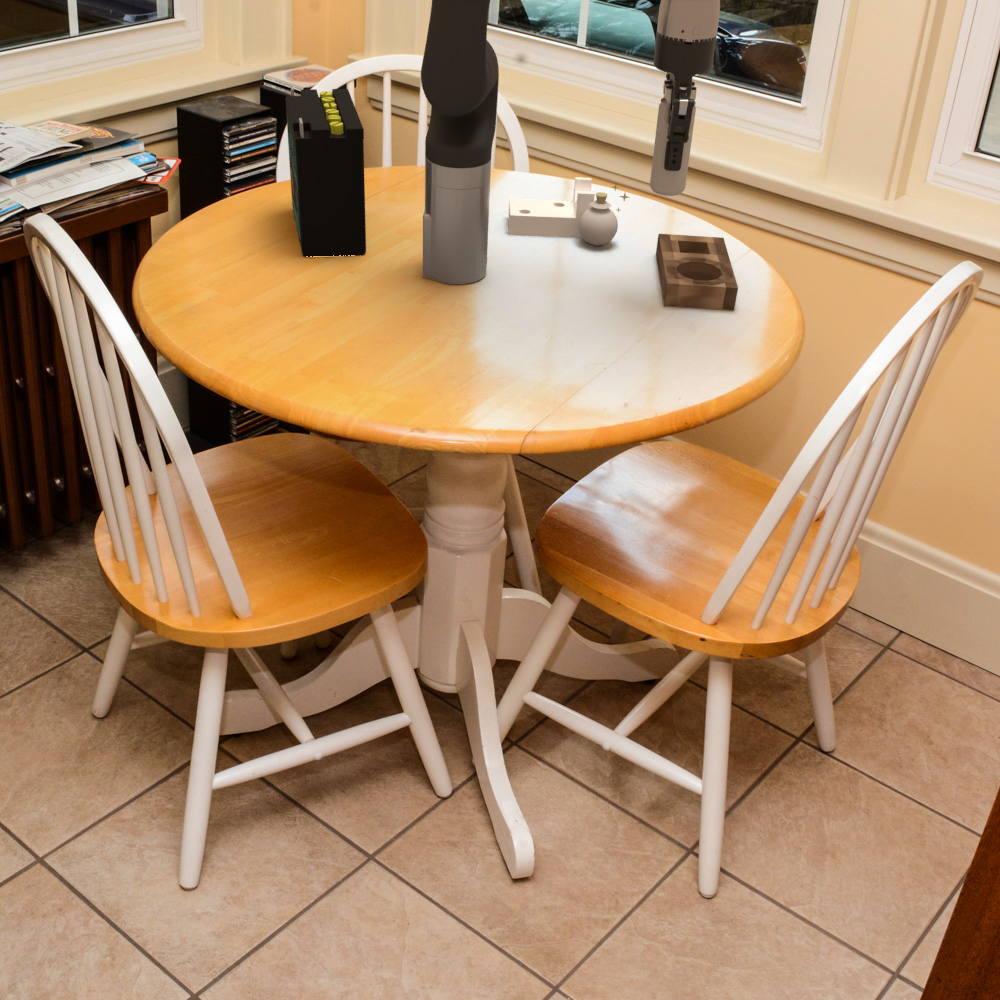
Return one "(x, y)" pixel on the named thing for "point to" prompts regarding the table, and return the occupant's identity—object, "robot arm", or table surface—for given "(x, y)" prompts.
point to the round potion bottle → (599, 221)
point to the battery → (327, 172)
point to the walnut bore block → (695, 272)
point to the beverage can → (661, 178)
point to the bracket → (551, 213)
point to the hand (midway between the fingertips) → (670, 162)
